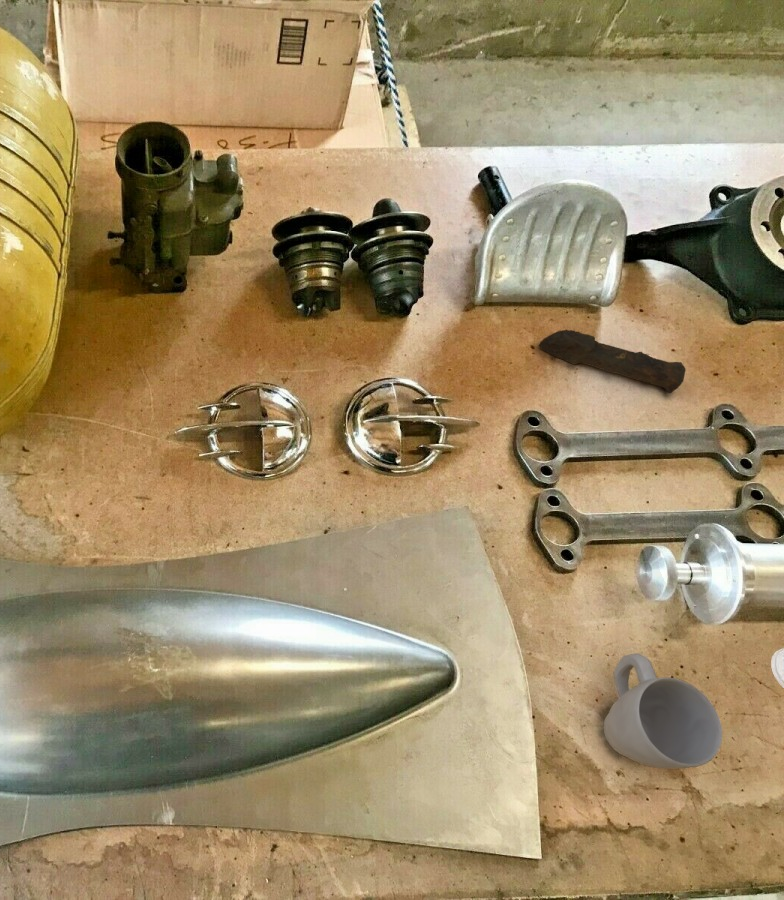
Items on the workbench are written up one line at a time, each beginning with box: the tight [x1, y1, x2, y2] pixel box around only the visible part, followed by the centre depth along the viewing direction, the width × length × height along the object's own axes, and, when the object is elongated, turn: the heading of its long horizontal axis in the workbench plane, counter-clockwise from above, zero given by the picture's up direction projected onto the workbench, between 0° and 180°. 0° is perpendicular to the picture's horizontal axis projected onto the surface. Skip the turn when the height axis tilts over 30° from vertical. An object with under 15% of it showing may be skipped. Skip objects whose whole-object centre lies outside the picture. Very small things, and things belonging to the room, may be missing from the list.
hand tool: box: [538, 329, 687, 394], centre depth 110 cm, size 19×4×5 cm, turn 70°
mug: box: [603, 653, 723, 770], centre depth 85 cm, size 12×9×10 cm
